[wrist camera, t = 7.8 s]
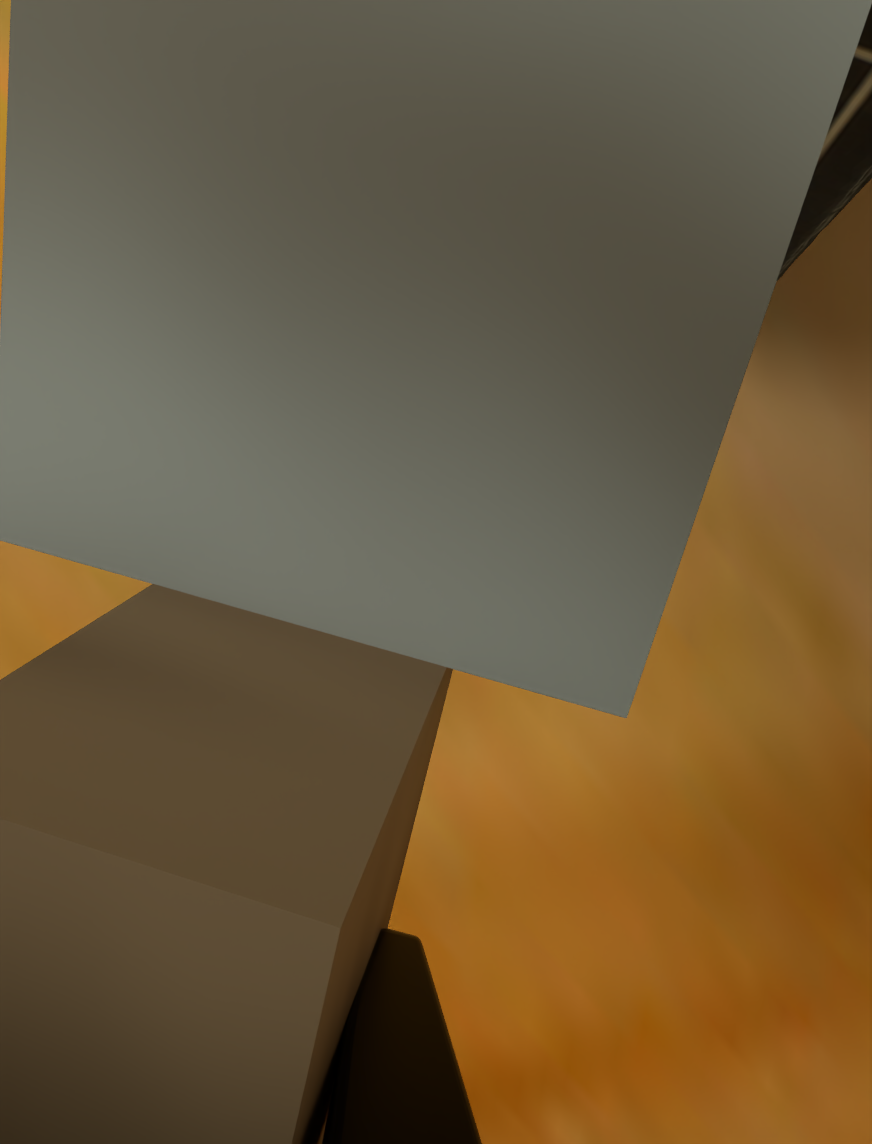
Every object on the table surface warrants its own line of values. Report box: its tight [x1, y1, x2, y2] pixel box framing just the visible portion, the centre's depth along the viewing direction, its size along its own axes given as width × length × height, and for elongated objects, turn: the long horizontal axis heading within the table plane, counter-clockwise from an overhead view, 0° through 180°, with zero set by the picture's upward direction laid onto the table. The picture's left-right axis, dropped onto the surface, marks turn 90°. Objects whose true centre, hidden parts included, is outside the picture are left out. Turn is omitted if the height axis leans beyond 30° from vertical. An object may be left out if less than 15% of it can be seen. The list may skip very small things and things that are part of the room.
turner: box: [0, 0, 872, 1144], centre depth 6 cm, size 13×6×4 cm, turn 166°
